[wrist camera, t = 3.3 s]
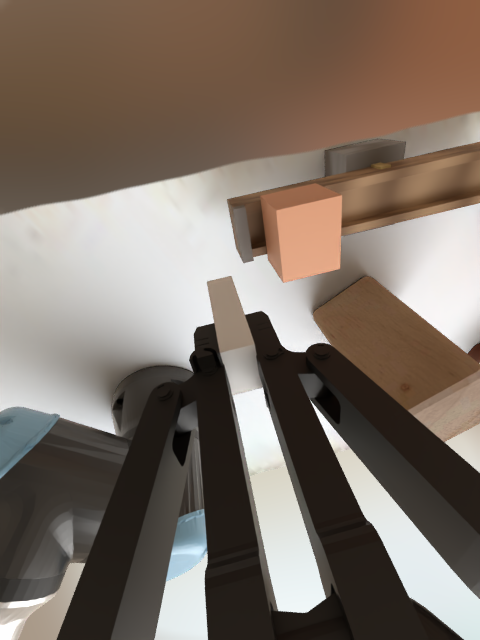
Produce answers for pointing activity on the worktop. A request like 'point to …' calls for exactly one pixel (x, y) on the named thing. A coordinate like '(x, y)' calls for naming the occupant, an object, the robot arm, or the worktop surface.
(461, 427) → the wooden block
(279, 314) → the worktop surface
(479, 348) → the ice cream bowl
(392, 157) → the beam
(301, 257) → the block
